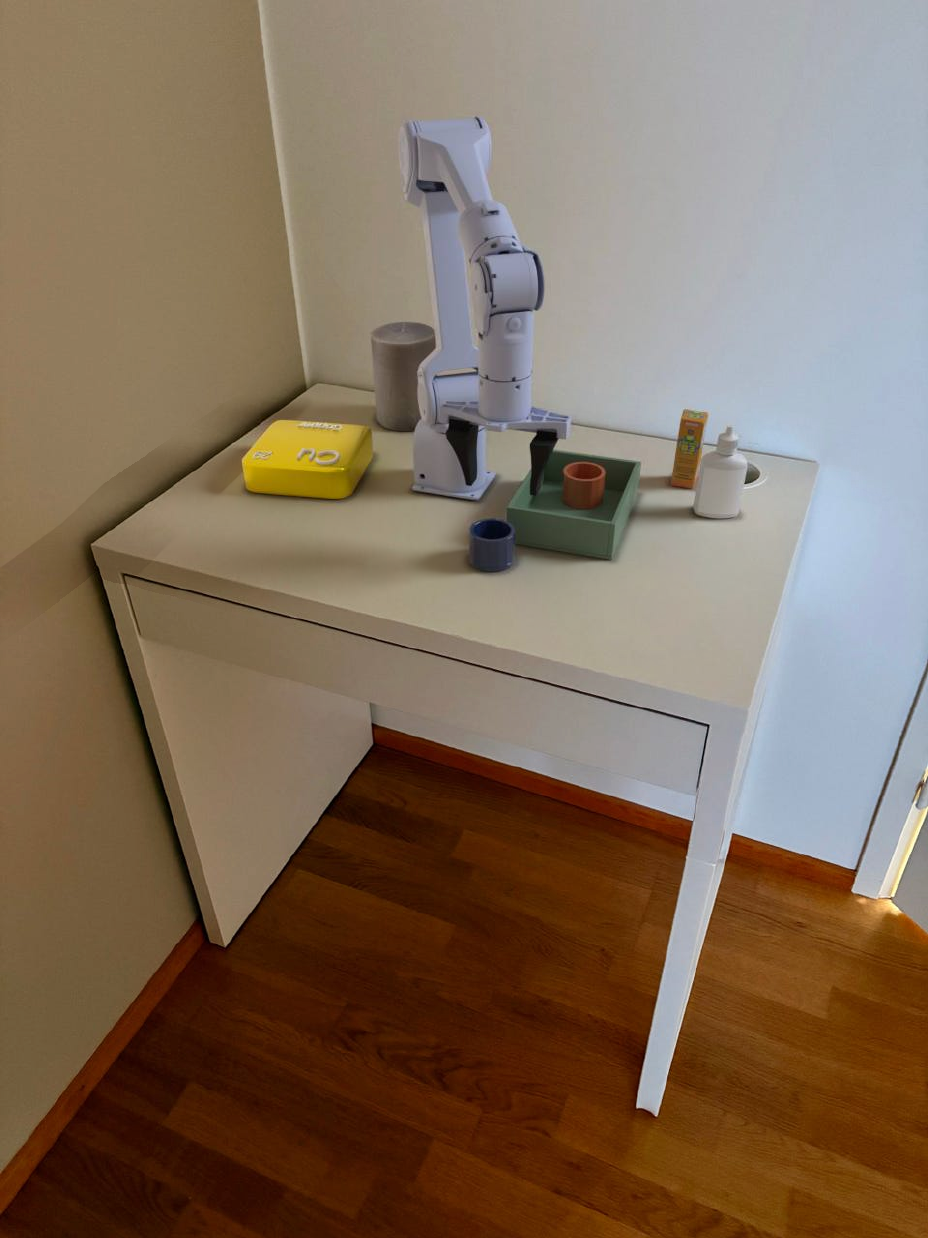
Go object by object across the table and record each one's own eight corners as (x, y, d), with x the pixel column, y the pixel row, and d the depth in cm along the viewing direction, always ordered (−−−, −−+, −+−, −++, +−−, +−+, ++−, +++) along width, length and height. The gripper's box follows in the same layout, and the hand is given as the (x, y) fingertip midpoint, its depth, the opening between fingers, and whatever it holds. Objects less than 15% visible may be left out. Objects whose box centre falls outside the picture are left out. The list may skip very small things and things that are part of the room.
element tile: (376, 452, 133) (374, 421, 131) (348, 501, 121) (345, 468, 119) (278, 445, 136) (274, 414, 133) (241, 492, 124) (235, 460, 121)
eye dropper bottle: (729, 525, 116) (746, 437, 109) (688, 513, 118) (701, 426, 111) (742, 511, 119) (759, 425, 111) (701, 499, 121) (715, 414, 114)
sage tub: (505, 542, 113) (506, 507, 110) (542, 480, 126) (543, 447, 123) (611, 560, 109) (615, 524, 106) (637, 494, 122) (641, 461, 120)
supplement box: (669, 486, 124) (678, 417, 118) (674, 475, 127) (684, 407, 121) (693, 490, 123) (704, 421, 117) (698, 479, 126) (709, 410, 120)
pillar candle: (448, 412, 145) (446, 317, 136) (420, 436, 138) (417, 337, 129) (393, 402, 148) (388, 309, 139) (364, 425, 141) (357, 328, 132)
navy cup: (463, 567, 108) (462, 537, 106) (477, 545, 112) (477, 515, 110) (506, 575, 107) (507, 544, 104) (519, 552, 111) (520, 522, 108)
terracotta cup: (557, 506, 119) (558, 477, 117) (567, 487, 123) (568, 459, 121) (597, 512, 118) (600, 483, 115) (606, 493, 122) (609, 465, 119)
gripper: (427, 377, 96) (431, 493, 104) (562, 393, 92) (555, 512, 100) (450, 355, 101) (452, 466, 109) (578, 369, 98) (570, 483, 106)
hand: (502, 486), depth 105 cm, fingers open, 7 cm apart
